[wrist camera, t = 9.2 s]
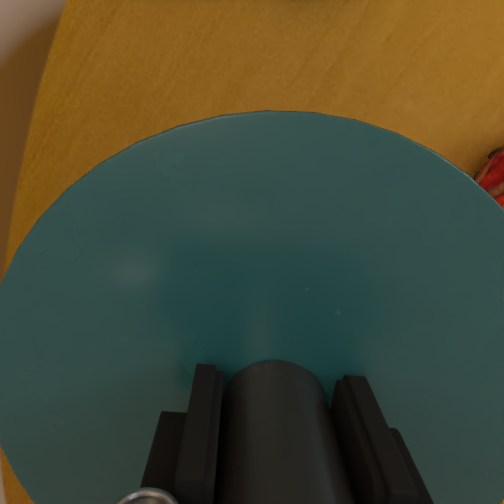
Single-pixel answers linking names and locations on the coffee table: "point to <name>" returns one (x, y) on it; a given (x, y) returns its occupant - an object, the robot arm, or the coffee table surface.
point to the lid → (258, 311)
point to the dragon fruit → (493, 176)
